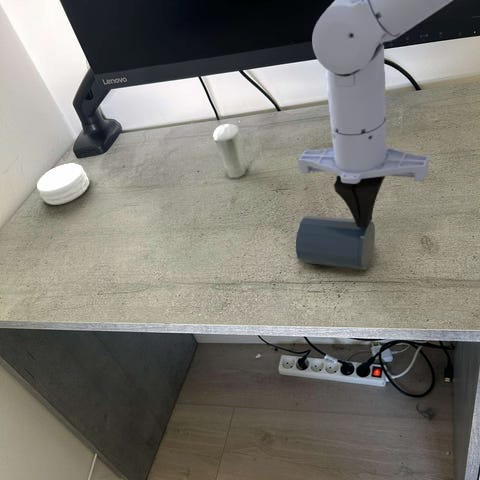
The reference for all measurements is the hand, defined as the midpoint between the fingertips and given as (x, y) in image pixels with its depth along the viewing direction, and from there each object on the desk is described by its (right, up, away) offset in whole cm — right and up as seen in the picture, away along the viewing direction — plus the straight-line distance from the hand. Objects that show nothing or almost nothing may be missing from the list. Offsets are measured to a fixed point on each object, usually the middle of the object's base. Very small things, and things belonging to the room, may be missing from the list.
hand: (364, 222), depth 62 cm
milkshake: (-16, +15, +28) cm, 35 cm away
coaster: (-51, +14, +39) cm, 66 cm away
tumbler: (+1, -3, +2) cm, 4 cm away
